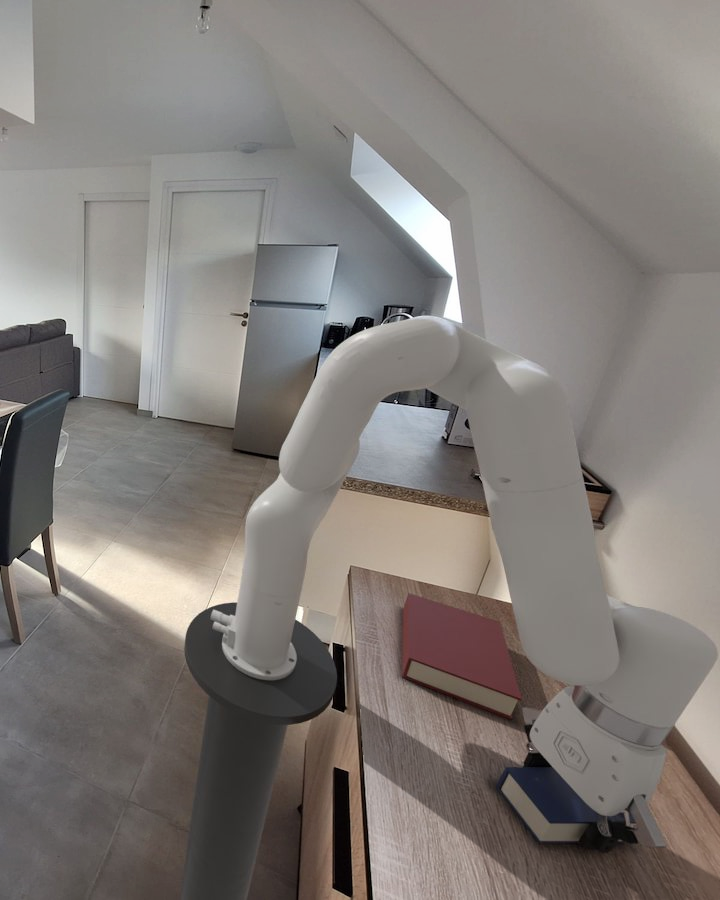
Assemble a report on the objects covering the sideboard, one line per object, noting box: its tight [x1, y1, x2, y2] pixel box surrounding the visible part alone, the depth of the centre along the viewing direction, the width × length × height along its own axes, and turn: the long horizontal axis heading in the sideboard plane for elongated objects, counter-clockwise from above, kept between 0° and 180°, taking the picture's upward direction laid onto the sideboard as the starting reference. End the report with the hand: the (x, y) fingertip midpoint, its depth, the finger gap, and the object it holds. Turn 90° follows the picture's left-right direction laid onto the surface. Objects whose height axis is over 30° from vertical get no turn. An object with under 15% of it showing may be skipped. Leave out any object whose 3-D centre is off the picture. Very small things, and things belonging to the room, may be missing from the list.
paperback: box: [495, 766, 636, 844], centre depth 58 cm, size 11×6×4 cm, turn 91°
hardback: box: [401, 593, 523, 721], centre depth 82 cm, size 20×15×4 cm
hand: (560, 808), depth 58 cm, fingers open, 7 cm apart
